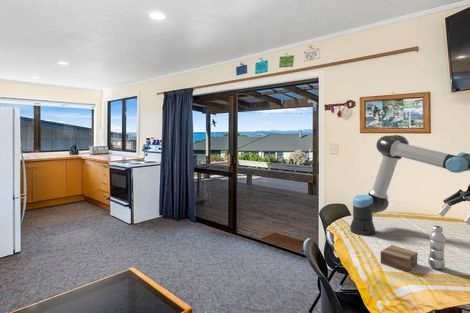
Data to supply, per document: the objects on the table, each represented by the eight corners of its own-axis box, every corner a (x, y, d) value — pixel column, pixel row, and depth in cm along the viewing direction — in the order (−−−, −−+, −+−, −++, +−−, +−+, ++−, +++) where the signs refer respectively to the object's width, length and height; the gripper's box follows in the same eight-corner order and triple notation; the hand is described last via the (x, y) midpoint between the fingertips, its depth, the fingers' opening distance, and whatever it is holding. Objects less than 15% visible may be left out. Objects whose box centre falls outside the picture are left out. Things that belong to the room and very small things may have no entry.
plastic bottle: (437, 264, 134) (438, 224, 132) (448, 270, 127) (450, 228, 125) (424, 264, 133) (425, 224, 132) (435, 271, 127) (436, 229, 125)
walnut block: (391, 256, 143) (391, 245, 143) (417, 264, 134) (417, 252, 133) (380, 263, 136) (380, 251, 136) (407, 272, 127) (407, 259, 126)
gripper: (515, 196, 120) (484, 232, 119) (461, 186, 144) (435, 216, 143) (505, 184, 119) (474, 221, 118) (452, 177, 143) (426, 207, 142)
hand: (452, 218), depth 131 cm, fingers open, 13 cm apart
